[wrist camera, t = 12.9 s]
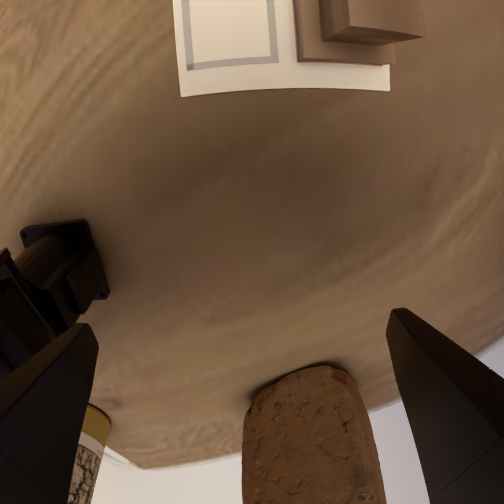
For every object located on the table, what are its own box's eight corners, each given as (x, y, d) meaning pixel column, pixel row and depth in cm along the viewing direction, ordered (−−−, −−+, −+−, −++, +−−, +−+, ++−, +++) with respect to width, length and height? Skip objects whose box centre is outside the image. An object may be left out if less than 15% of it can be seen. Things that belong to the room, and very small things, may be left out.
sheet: (181, 97, 16) (180, 97, 16) (172, -26, 12) (170, -28, 12) (388, 91, 16) (390, 91, 16) (379, -28, 12) (381, -29, 12)
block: (345, 349, 26) (396, 577, 9) (363, 391, 29) (403, 571, 12) (234, 386, 28) (227, 595, 11) (267, 421, 32) (272, 592, 14)
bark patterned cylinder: (108, 407, 31) (64, 597, 10) (114, 432, 35) (80, 595, 13) (58, 391, 31) (1, 567, 9) (69, 418, 34) (25, 572, 12)
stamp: (298, 61, 15) (327, 47, 9) (291, -16, 13) (314, -65, 7) (379, 65, 15) (445, 62, 9) (374, -9, 13) (432, -42, 7)
